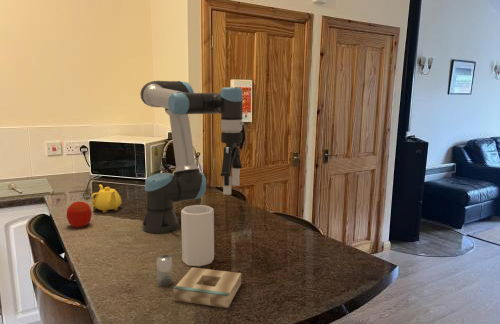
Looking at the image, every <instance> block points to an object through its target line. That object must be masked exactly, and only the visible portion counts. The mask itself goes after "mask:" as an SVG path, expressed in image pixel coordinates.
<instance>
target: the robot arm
mask: <svg viewBox="0 0 500 324" xmlns="http://www.w3.org/2000/svg"><path fill="white" fill-rule="evenodd" d="M139 94H140V99H141V101H142V102H143V104H144V105H146V106H147V107H152V108H163V109H164V111H165V112H164V113H166V114H167V115H168V116H169V123H170V131H171V137H172V145H173V146H172V147H173V153H174V159H175V160H174V161H175V166H176V167H175V168H174V170H173V173H171V172H159V173H155V174H152V175H149V176H148V177H146V178H145V182H144V183H145V184H144V192H145V193H144V197H145V214H144V218H143V221H142V225H141V226H142V230H143V232H145V233H149V234H163V233H164V234H165V233H170V232H173V231H175V230H177V229H178V228H179V220H178V218H177V215H176V212H175V210H174V203H179V202H185V201H192V200H193V201H194V200H196V199H197V200H198V199H202V197H203V196H204V195H205V193H206V190H207V178H206V176H205V174H204V173H203V172H201V170H200V168H199V167H198V166H197V165H196V159H195V152H194V146H193V139H192V131H191V124H190V115H197V114H198V115H208V114H210V115H211V114H217V115H219V114H220V116H221V117H220V130H221V131H222V132H221V134H220V141H221V143H223V144H226V146H224V147H223V155H222V157H223V158H222V164H221V165H222V166H221V173H220V176H221V177H222V182H223V184H222V185H223V186H222V190H223V191H222V194H223V195H227V196H230V195H232V186H237V187H239V186H240V184H241V183H240V174H241V173H240V172H241V171H240V169H242V168H243V165H242V162H241V154H240V153H241V152H240V144H241V143H242V142H243V133H242V131H243V126H244V125H245V123H244V122H243V104H244V103H243V101H244V98H243V89H242V88H241V87H234V86H233V87H227V86H226V87H225V86H224V87H222V88H221V89H220V92H219V93H218V92H194V89H193V87H192V86H191V84H190V83H189V82H187V81H181V80H171V81H170V80H153V81H149V82H146V83H145V84H144V85H143V86H142V87H141V90H140V93H139Z"/></svg>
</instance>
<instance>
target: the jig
mask: <svg viewBox="0 0 500 324" xmlns="http://www.w3.org/2000/svg"><path fill="white" fill-rule="evenodd" d="M241 284H242V273H241V272H234V271H227V270H226V271H225V270H217V269H216V270H215V269H209V268H202V267H194V266H191V268H190V269H189V270H188V271H187V273H185V275H184V276H183V277H182V278H181V279H180V280H179V281H178V283H177V284H176V285H174V286H173V289H172V290H173V291H172V292H173V301H176V302H184V303H190V304H197V305H202V306H203V305H204V306H211V307H217V308H226V309H229V307H230V306H231V303H232V301H233V299H234V298H235V295H236V294H237V292H238V290H239V289H240V287H241Z"/></svg>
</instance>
